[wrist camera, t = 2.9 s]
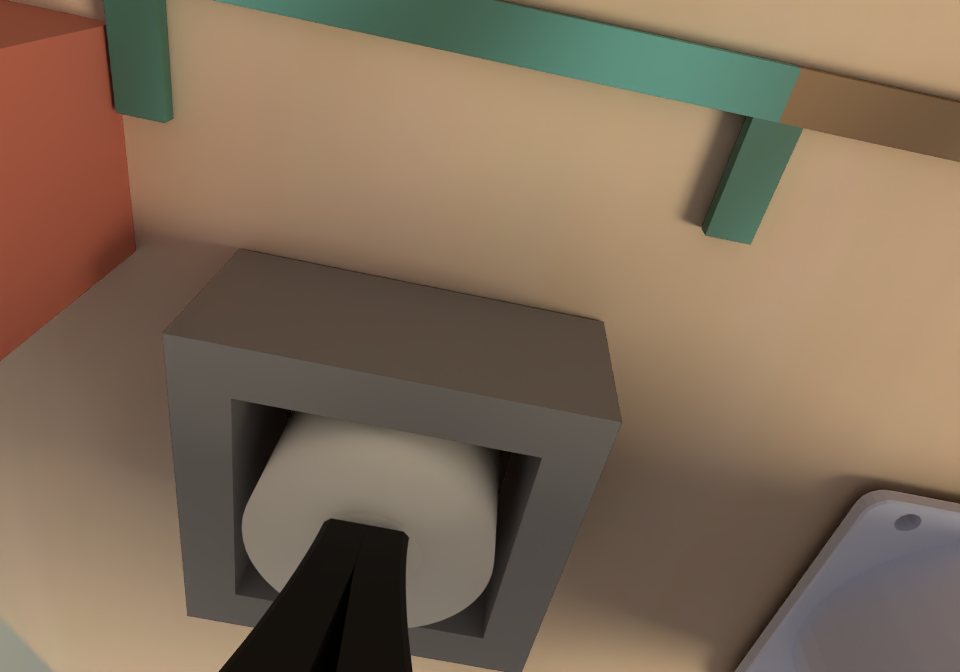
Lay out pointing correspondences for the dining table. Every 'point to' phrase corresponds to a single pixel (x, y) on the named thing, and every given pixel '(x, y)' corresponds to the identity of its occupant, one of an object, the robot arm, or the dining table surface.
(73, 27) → the die
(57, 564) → the dining table surface
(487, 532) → the dome
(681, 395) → the dining table surface
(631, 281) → the dining table surface
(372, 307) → the box
